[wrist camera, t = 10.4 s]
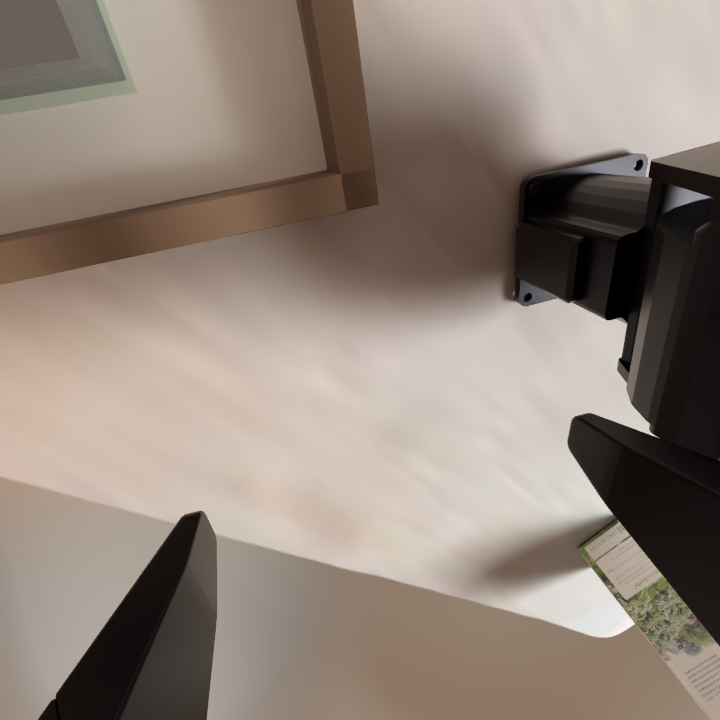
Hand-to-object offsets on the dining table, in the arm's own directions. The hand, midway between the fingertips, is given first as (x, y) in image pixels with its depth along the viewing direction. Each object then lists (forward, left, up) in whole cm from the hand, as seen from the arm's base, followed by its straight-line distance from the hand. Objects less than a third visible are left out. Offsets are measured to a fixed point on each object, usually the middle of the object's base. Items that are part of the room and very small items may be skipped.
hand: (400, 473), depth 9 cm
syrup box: (-21, +29, -12) cm, 38 cm away
